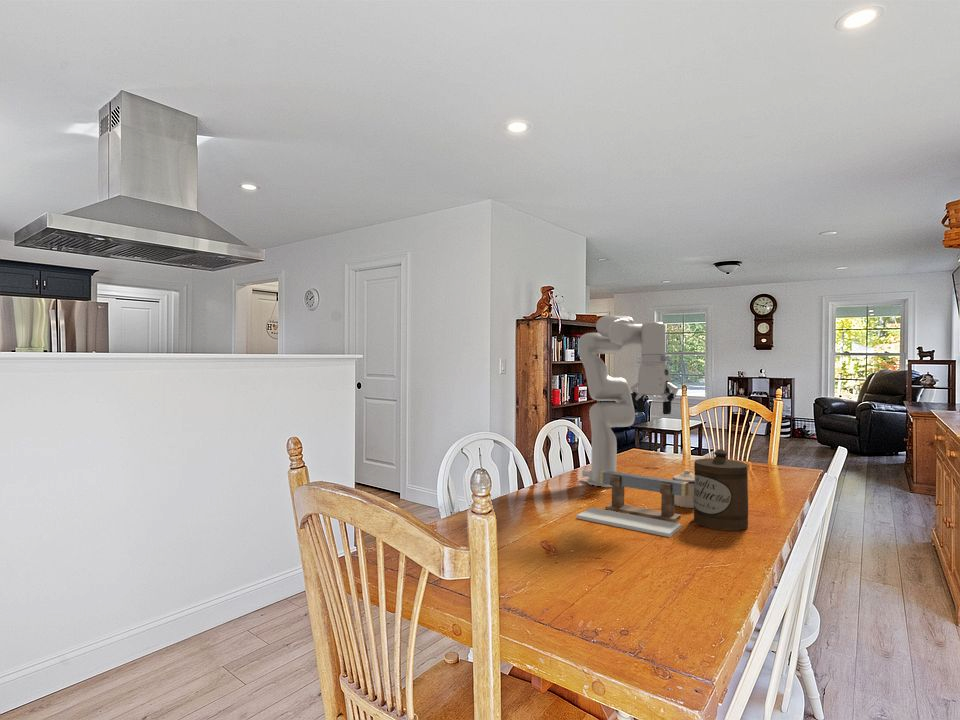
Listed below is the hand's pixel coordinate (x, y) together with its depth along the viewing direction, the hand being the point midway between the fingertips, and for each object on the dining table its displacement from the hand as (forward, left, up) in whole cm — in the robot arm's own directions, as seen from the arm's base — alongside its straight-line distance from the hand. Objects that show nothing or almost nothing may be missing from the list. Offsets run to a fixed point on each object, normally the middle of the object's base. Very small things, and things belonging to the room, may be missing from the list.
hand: (653, 413), depth 174 cm
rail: (-1, -6, -23) cm, 24 cm away
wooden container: (+21, -1, -32) cm, 38 cm away
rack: (-1, -6, -31) cm, 32 cm away
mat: (-1, -18, -31) cm, 36 cm away
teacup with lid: (+7, +15, -32) cm, 35 cm away
